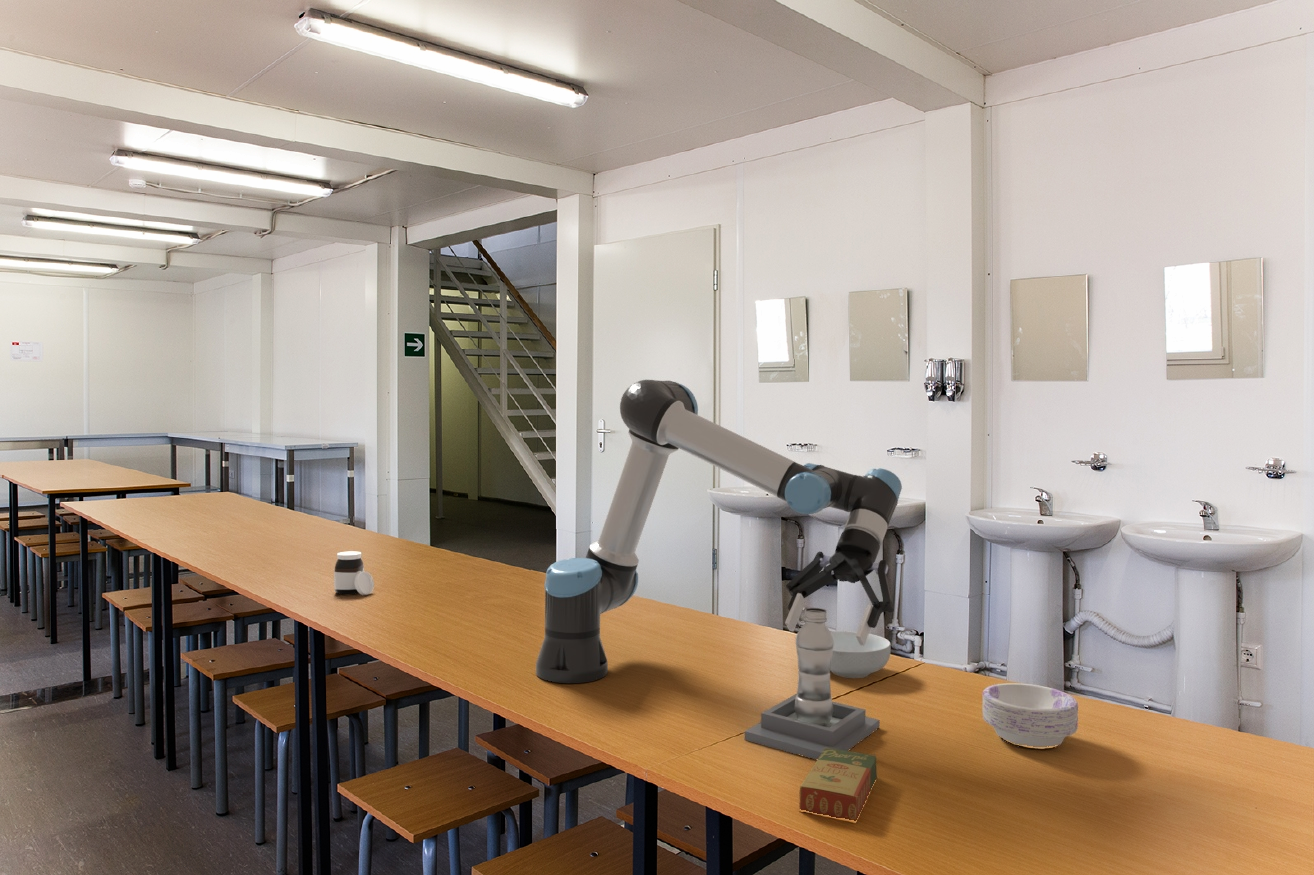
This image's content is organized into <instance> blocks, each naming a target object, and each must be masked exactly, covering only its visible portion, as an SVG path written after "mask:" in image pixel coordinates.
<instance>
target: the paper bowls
mask: <svg viewBox="0 0 1314 875" xmlns="http://www.w3.org/2000/svg"><path fill="white" fill-rule="evenodd" d="M1078 714H1079V704H1078V701H1077V699H1075V697H1074V696H1072V695H1070V694H1069V693H1066V692H1064V691H1061V690H1059V689H1056V688H1053V687H1048V686H1043V685H1038V684H1031V683H1019V682H1016V683H1015V682H1013V683H1012V682H1010V683H1006V682H1005V683H997V684H996V683H995V684H993V685H989V686H986V687H985V689H984V690H983V691H982V719H983V720H984V721H985V723H987V725H990V726H991V727H993V728H994V731H995V733H996V735H997V736H998V737H999V736H1000V737H1002V738H1003V739H1005V740H1008V741H1010V742H1012V743H1015V744H1019V745H1027V746H1033V747H1047V746H1048V747H1049V746H1055V745H1059V744H1060V745H1062V744H1063V742H1064V739H1065V738H1066V737H1069V736H1072V735H1074V734H1076V733H1077V731H1078V727H1079V726H1078V725H1079V723H1078V721H1079V716H1078ZM1000 737H999V738H1000ZM1060 745H1059V746H1060Z"/></svg>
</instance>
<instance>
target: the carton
mask: <svg viewBox="0 0 1314 875" xmlns="http://www.w3.org/2000/svg"><path fill="white" fill-rule="evenodd" d="M876 778H877V779H878V773H877V756H876V755H873V754H868V753H864V752H863V753H862V752H855V751H851V750H850V751H845V750H839V749H833V748H825V749H824V750H823V752H822V753H821V755H820V757H819V758H818V760H816V761H815V763H814V765H813V766H812V768H811V769H810V771H809V772H808V774H807V775H806V777H805V779H804V780H803V782H802V783H801V784H800V787H799V802H798V803H799V808H798V810H799V809H801V810H806V811H809V812H813V813H817V814H823V815H829V816H831V817H836V818H845V819H849V820H854V821H856V820H857V818H858V816H859V814H860V812H861V810H862V808H863V805H864V804H865V801H866V800H867V801H868V799H867V796H868V795H869V792H870V791H871V788H872V786H873V784H874V782H875V780H876ZM871 792H872V791H871ZM869 796H870V795H869ZM865 805H866V804H865ZM863 809H864V808H863ZM862 811H863V810H862Z"/></svg>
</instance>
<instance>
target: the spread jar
mask: <svg viewBox="0 0 1314 875" xmlns="http://www.w3.org/2000/svg"><path fill="white" fill-rule="evenodd" d="M336 559H337V560H336V562H335V565H334V572H333V573H334V576H333V577H334V579H333V581H334V582H333V583H334V591H335V593H336V594H338V593H339V594H338V595H342V594H350V595H356V594H355V593H357V594H360V595H361V596H367V595H370V594H372V592H373V591H374V589H375V583H374V582H375V581H374V578H373V576H372V575H371V574H370V572H368V571H365V568H364V566H365V564H364V561H363V559H362V552H361V551H353V550H349V551H342V552H337V554H336Z"/></svg>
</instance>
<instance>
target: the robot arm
mask: <svg viewBox="0 0 1314 875" xmlns="http://www.w3.org/2000/svg"><path fill="white" fill-rule="evenodd" d="M619 411H620V416H621V419H622V421H623V424H624V425H625V426H626V427H627V428H628V435H629V437H630V439H631V445H630V448H629V451H628V454H627V457H626V459H625V462H624V465H623V468H622V472H621V474H620V477H619V480H618V482H617V483H618V484H617V485H616V489H615V492H614V495H613V498H612V501H611V503H610V506H609V509H608V512H607V515H606V519H605V520H604V524H603V527H602V530H601V533H600V536H599V539H598V540H595V541H594V542H592V543H590V544H589V548H588V551H587V552H586V556H585V557H571V558H569V559H561V560H558V561H555V562H553V563H552V564H550V566H548V568H547V569H546V573H545V581H544V601H545V603H544V638H543V640H542V643H541V647H540V650H539V653H538V655H537V658H536V662H535V675H536V676H537V677H538V678H540V679H542V680H545V681H547V680H548V681H547V682H551V681H552V683H560V684H581V683H590V682H594V681H598V680H601V679H602V678H605V676H607V674H608V673H609V672H608V670H609V669H608V667H609V664H608V658H607V655H606V653H605V652H606V651H605V648H604V644H603V642H602V639H601V614H604V613H606V612H608V611H611V610H613V609H617V608H619V607H622V606H623V605H625V604H626V603H627V602H628V601H629V600H630V599H631V598H632V597H633V596H634V594H635V593H636V591H637V588H638V584H639V574H638V572H637V567H638V564H639V562H640V560H639V558H638V556H637V554H636V550H637V548H638V544H639V542H640V539H641V536H642V534H643V531H644V527H645V525H646V521H647V520H648V516H649V514H650V510H651V507H652V504H653V503H654V502H653V501H654V499H655V496H656V493H657V491H658V488H659V484H660V482H661V479H662V477H663V474H664V471H665V467H666V465H667V461H668V459H669V456H670V454H673V453H675V452H677V451H679V450H682V451H683V452H686V453H687V454H690V455H691V456H694V457H696V458H698V459H700V460H701V461H704V462H706V463H708V464H710V465H712V466H713V467H716V468H718V469H720V470H722V471H724V472H726V473H728V474H730V475H732V476H734V477H736V478H739V479H740V480H742V481H744V482H746V483H748V484H750V485H753V487H754V486H755V487H756V488H759V489H760V490H762V491H765V492H767V493H768V494H770V495H773V496H774V497H777V498H779V499H781V500H782V501H784V502H785V503H787V505H788V506H789V507H790V509H792V510H793V511H794V512H796V513H799V514H801V515H802V514H803V515H813V514H816V513H819V512H822V511H823V510H824V509H827V508H832V509H835V510H836V509H837V510H839V511H840V510H841V511H844V512H847V513H849V515H848V516H847V520H846V522H845V524H844V527H843V529H842V531H841V533H840V537H839V539H838V540H837V541H838V542H837V544H836V546H835V551H834V553H833V554H832V555H831V556H829V555H825V554H824V553H823V551H817V553H816V554H815V555H814V558H813V559H812V560H811V561H810V562H809V563H808V564H807V565H806V566H804V568H803V569H802V570H800V572H799V573H798V574H796V575H795V576H794V577H793V578H792V579H791V580H790V581H789V582H788V583H787V584H786V585H785V587H786V590H787V592H788V593H789V595H790V596H791V598H790V601H789V602H788V605H787V609H788V610H789V612H788V615H787V617H786V619H785V621H784V623H785V625H786V627H787V629H788V631H790V632H795V629H796V626H797V624H798V622H799V620H800V617H801V615H802V612H803V610H804V608H805V605H806V602H807V601H806V600H805V599H806V598H807V597H809V596H811V594H814V593H816V591H818V590H820V589H821V588H823V587H826V585H828V584H829V583H831V584H832V583H835V582H836V581H839V582H848V583H851V584H855V583H858V582H860V584H861V585H862V588H863V589H864V591H865V593H866V596H867V597H868V599H869V601H870V603H871V604H867V605H866V608H865V610H864V613H863V616H862V618H861V621H860V624H859V626H858V630H857V631H856V632H857V634H856V638H857V640H858V642H859V644H860V645H863V646H864V645H865V642H866V639H867V636H868V634H870V631H871V628H872V629H875V628H876V627H877V625H878V623H879V620H880V617H881V614H882V613H885V612H886V613H893V612H894V611H895V607H894V604H893V602H894V601H893V597H892V594H891V590H890V589H891V588H890V584H889V579H888V577H889V573H890V569H889V566H888V564H887V561H886V560H885V559H881V560H880V561H879V562H876V559H877V556H878V554H879V552H880V549H881V546H882V544H883V541H884V538H885V535H886V534H887V531H888V527H889V525H890V522H891V521H892V517H893V516H894V513H895V510H896V508H897V506H898V504H899V499H900V495H901V491H902V489H903V488H902V487H903V486H902V481H901V480H900V478H899V477H898V476H897V475H896V474H895V473H894V472H892V471H891V470H888V469H885V468H878V469H877V468H872V469H869V470H868V471H867V473H866V474H864V476H862V475H857V474H852V473H848V472H846V471H841V470H838V469H835V468H831V467H828V466H825V465H822V464H815V463H810V462H808V463H805V464H803V465H802V464H800V463H798V462H796V461H795V460H792V459H790V458H788V457H786V456H783V455H782V454H779V453H778V452H776V451H774V450H772V449H770V448H767V447H765V446H763V445H761V444H758V443H757V442H755V441H752V440H751V439H749V438H746V437H744V436H742V435H740V434H737V433H735V432H734V431H732V430H729V429H727V428H726V427H724V426H721V425H719V424H717V423H715V422H713V421H711V420H709V419H706V418H704V417H702V416H700V415H699V406H698V402H697V399H696V397H695V395H694V393H693V392H692V391H691V389H689V388H688V387H687V386H685V385H683V384H682V383H679V382H676V381H671V380H656V379H641V380H639V381H636V382H633V383H632V384H631V385H630V386H628V387H627V388H626V390H625V391H624V392H623V394H622V396H621V398H620V403H619ZM832 572H833V574H832ZM872 572H875V573H876V575H877V576H878V581H879V586H880V591H881V596H882V601H880V600H879V599H878V597H877V594H876V593H875V591H874V589H873V587H872V585H871V584H870V582H869V580H868V578H867V576H868V575H869V574H871V573H872Z"/></svg>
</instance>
